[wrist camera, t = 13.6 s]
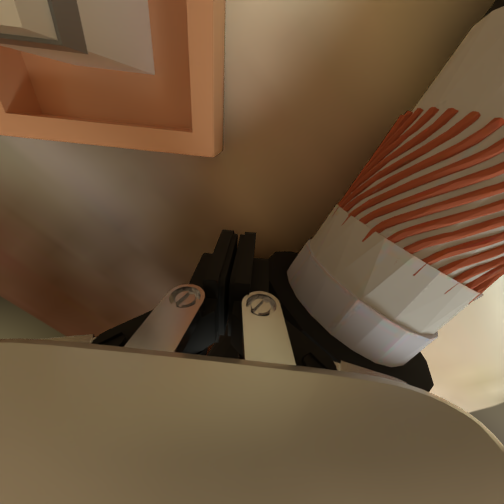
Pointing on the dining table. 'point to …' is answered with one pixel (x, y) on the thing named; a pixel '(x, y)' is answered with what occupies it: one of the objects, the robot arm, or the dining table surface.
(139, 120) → the dish
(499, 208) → the striped tapered cylinder
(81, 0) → the block
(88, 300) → the dining table surface
